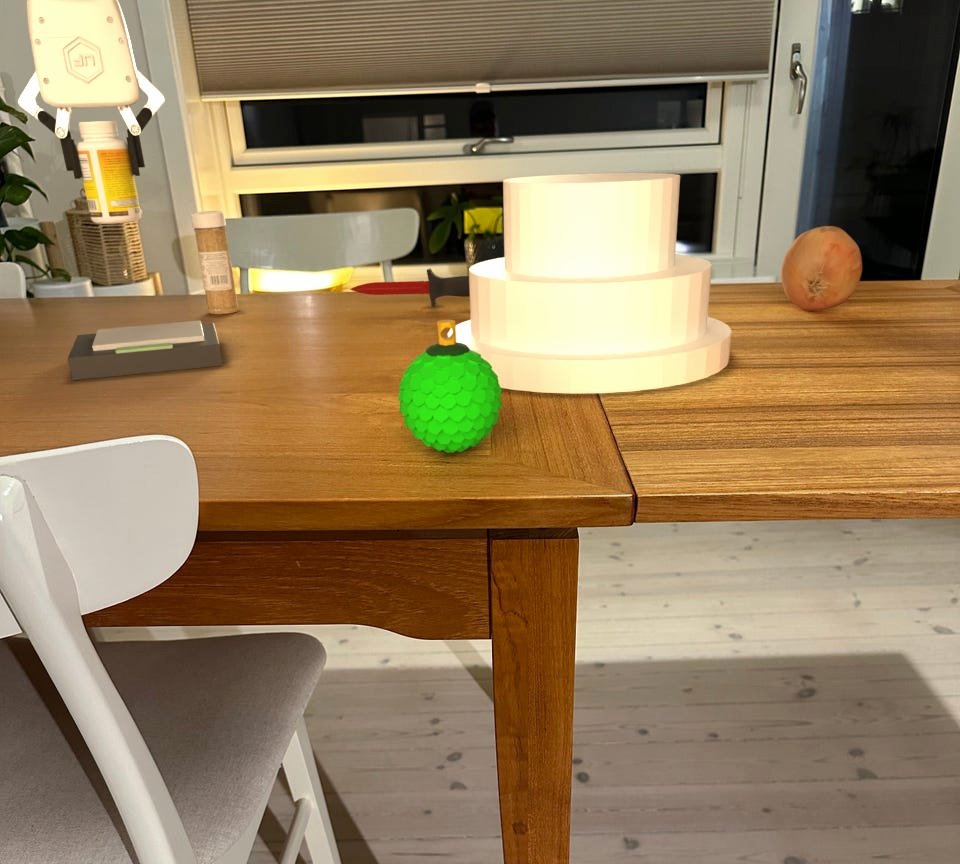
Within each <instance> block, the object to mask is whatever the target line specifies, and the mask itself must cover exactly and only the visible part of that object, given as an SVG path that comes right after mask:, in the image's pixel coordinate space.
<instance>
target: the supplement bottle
mask: <svg viewBox="0 0 960 864" xmlns="http://www.w3.org/2000/svg"><path fill="white" fill-rule="evenodd" d="M78 129H79V134H80V138H81V139H82V140H83V141H79V142H78V143H76V151H77V156H78V161H79V165H80V170H81V175H82V177H81V179H82V184H83V189H84V192H85V193H84V194H85V197H86V203H87V207H88V212H89V216H90V219H91V221H92V222H93V223H94V224H97V225H116V224H127V223H135V222H138V221H140V220H141V218H142V211H141V207H140V202H139V195H138V190H137V186H136V179H135V175H133V171H132V165H131V160H130V155H129V149H128V144H127V141H125V140H122V139H118V137H119V136H120V134H119V130H118V125H117V121H116V120H100V121H99V120H97V121H79V122H78Z"/></svg>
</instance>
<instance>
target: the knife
mask: <svg viewBox="0 0 960 864" xmlns="http://www.w3.org/2000/svg"><path fill="white" fill-rule="evenodd" d="M426 275H427V280H412V281H408V280H407V281H376V282H367V283H363V284H360V285H359V284H358V285H356V286H354V287H351V288H350V289H349V290H350V291H352V292H356V293H359V294H364V295H371V296H388V295H391V296H392V295H395V296H397V295H425V294H426V295H429V299H430V304H431V307H434V306H435V305H436V304H437V303H436V301H437V299H438V298H441V297H465V298H467V297H468V298H470V286H469V275H459V276H450V277H449V276H448V277H442V276H438V275H437V274H436V273H434V272H433V270H432V268H427V269H426Z"/></svg>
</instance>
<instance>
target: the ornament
mask: <svg viewBox="0 0 960 864" xmlns="http://www.w3.org/2000/svg"><path fill="white" fill-rule="evenodd" d="M436 324H437V335H438V342H437V343H433V344H431V345H429V346H428V347H427V348H425V351H423V353H421V354H419V355H417V357H415V358H414V359H413V360H412V361H411V364H410V365H408V366H407V367H406V370H404V372H403V374H402V379H401V380H400V384H399V386H398V390H399V393H398V395H397V398H398V402H399V413H400V414H402V416H403V421H404V425H405V427H406V428H407V429H410V430H411V433H412V435H413V437H414V438H415V439H416V440H419V439H420V440H421V442H422V444H423V445H424V446H426V447H429V448H431V447H432V448H433V449H434V450H435V451H438V452H442V451H443V452H445V453H455V452H459V453H460V452H461V453H462V452H463V451H466V450H468V449H469V448H470V447H471V448H472V447H475V446H477V445H478V444H480V443H481V442H482V440H483V438H487V437H488V436H489V435H490V434H491V433H492V432H493V428H494V426H495V425H497V423H498V420H500V419H499V418H500V417H499V410H502V409H503V402H502V398H501V394H502V393H503V390H502V389H503V388H501V387H500V385H499V383H498V382H499V380H498V376H497V374H496V373H495V372H494V371H493V370H492V366H491V365H490V363H488V362H487V361H486V360H484V359H483V358H481V355H480V354H479V353H477V352H475V351H472V350H470V349H469V347H468V346H467V345H465V344H463V343H458V342H456V325H457V324H456V320H454V319H440V320H437V321H436ZM446 328H449V329H451V328H452V330H453V333H452V335H451V336H450V337H448V336H447V337H444V336H442V335H441V334H442V331H443V330H444V329H446Z"/></svg>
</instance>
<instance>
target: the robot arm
mask: <svg viewBox="0 0 960 864" xmlns="http://www.w3.org/2000/svg"><path fill="white" fill-rule="evenodd" d="M26 17H27V29H28V34H29V35H28V36H29V41H30V47H31V55H32V59H33V65H34V70H35V71H34V72H33V74H32V76H31V78H30V79H29V81H28V83H27V84H26V86H25V88H24V89H23V91H22V93H21V94H20V96H19V98H18V100H17V104H18V106H19V107H21V109H23V110H24V111H26V112H27V113H29V114H30V115H31V116H32V117H33V118H35V119H36V120H37V121H39V123H41V124H42V125H44V126H45V127H46V128H47V129H48V130H49V131H51V133H53V134H54V135H55V136H57V137H58V138H59V140H60V146H61V150H62V155H63V159H64V165H65V169H66V171H67V172H72V173H73V176H74V180H80V179H82V175H81V170H80V165H79V161H78V156H77V151H76V145H77V142H76V139H75V138H73V134H72V132H71V131H70V128H71V127H70V126H71V125H70V124H71V118H72V113H73V112H72V110H73V109H95V108H96V109H97V108H99V109H100V108H117V109H118V111H119V114H120V115H121V116H122V119H123V120H124V123H125V124H126V126H127V129H126V132H127V136H126V143H127V145H128V149H129V155H130V160H131V165H132V171H133V175H134V177H140V176H141V172H140V168H146V165H145V159H144V154H143V148H142V143H141V138H140V134H141V133H142V132H143V130H144V129H145V127H146V126H147V125H148V124H149V122H150V121H151V119H152V118H153V116H154V115H155V114H156V113H157V111H158V110H159V109H160V108H161V107H162V105H163V104H164V103H165V100H166V98H165V95H164V94H163V93H162V92H161V91H160V90H159V89H158V88H157V87H156V86H155V85H154V84H153V83H152V82H150V80H149V79H148V78H146V76H144V74H143V73H142V72H141V71H139V70H138V69H137V66H136V61H135V57H134V53H133V52H134V51H133V48H132V43H131V39H130V34H129V30H128V27H127V24H126V20H125V17H124V14H123V10H122V8H121V5H120V2H119V0H26ZM141 91H142V92H143V93H144V94H145V95H146V96H147V98H148V99H147V102H146V103H145V104H144V106H143V107H142V109H141V110H140V111H139V113H138V114H137V115H136V116H135V114H134V112H133V111H132V109H131V106H133V105H135V104H137V102H138V101H139V100H140V97H141ZM39 95H41V96H40V97H41V99H42V100H43V101H44V103H45V104H47V105H49V106H51V107H55V108H57V111H56V117H54V116H53V115H51V114H50V113H49V112H48V111H46V110H45V109H43V108H42V107H41V106H40V105H38V103H37V98H38V97H39Z"/></svg>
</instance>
